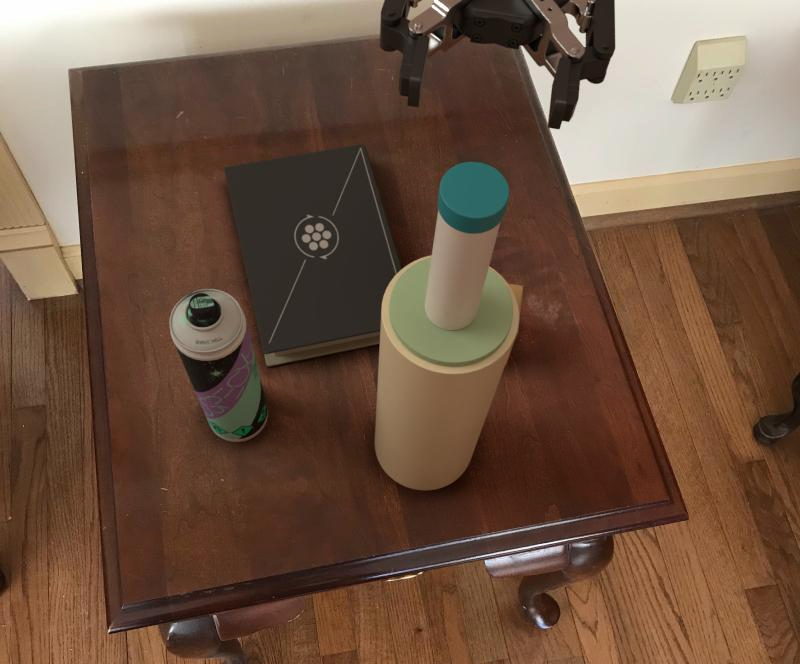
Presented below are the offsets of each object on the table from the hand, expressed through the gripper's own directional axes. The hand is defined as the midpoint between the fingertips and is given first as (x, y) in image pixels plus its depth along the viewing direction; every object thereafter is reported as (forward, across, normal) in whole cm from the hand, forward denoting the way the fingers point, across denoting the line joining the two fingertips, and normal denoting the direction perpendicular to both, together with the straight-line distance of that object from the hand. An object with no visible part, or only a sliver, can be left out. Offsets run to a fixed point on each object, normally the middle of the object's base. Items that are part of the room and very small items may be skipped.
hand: (485, 107), depth 49 cm
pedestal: (+9, 0, +33) cm, 34 cm away
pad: (+8, 0, +9) cm, 13 cm away
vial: (+9, 0, +3) cm, 9 cm away
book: (-9, -13, +34) cm, 37 cm away
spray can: (+9, -17, +34) cm, 39 cm away
